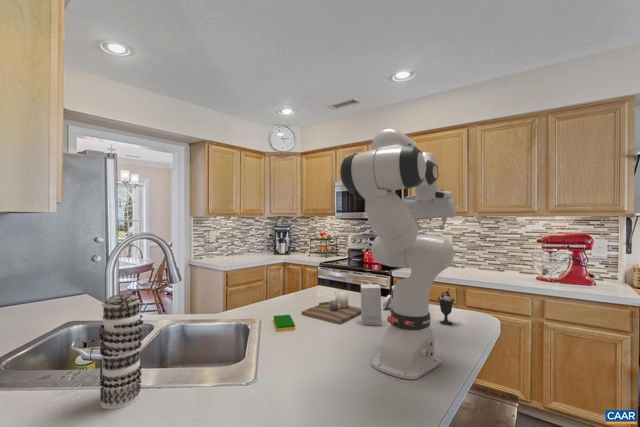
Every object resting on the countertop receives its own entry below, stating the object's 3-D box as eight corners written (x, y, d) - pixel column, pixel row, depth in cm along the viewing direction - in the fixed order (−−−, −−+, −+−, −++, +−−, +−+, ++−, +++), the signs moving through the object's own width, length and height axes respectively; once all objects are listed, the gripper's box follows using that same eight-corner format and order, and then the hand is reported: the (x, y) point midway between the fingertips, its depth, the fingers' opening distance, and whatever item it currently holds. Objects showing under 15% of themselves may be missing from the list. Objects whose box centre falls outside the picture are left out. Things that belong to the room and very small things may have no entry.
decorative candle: (150, 388, 82) (150, 291, 82) (129, 409, 73) (130, 301, 73) (114, 388, 82) (114, 291, 82) (89, 410, 73) (89, 301, 73)
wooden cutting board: (340, 324, 130) (340, 318, 130) (301, 314, 143) (301, 309, 143) (365, 312, 147) (365, 306, 147) (328, 304, 160) (328, 299, 160)
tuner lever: (337, 311, 142) (337, 296, 142) (326, 308, 146) (326, 294, 146) (350, 305, 151) (350, 291, 151) (340, 303, 154) (340, 290, 155)
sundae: (452, 327, 128) (452, 289, 128) (435, 323, 132) (435, 287, 132) (456, 322, 133) (456, 286, 133) (440, 319, 137) (440, 284, 137)
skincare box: (380, 320, 135) (380, 284, 135) (381, 326, 129) (381, 287, 129) (360, 320, 136) (360, 283, 136) (360, 325, 130) (361, 287, 130)
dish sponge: (277, 333, 122) (277, 326, 122) (273, 321, 136) (273, 315, 136) (295, 331, 124) (295, 325, 124) (289, 319, 137) (289, 314, 137)
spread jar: (408, 315, 142) (408, 289, 142) (382, 314, 145) (382, 288, 145) (406, 308, 154) (406, 284, 154) (383, 306, 156) (383, 283, 156)
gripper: (398, 197, 128) (401, 230, 129) (451, 193, 115) (453, 230, 116) (405, 196, 133) (408, 228, 134) (456, 192, 120) (459, 228, 121)
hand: (429, 229), depth 125 cm, fingers open, 8 cm apart
